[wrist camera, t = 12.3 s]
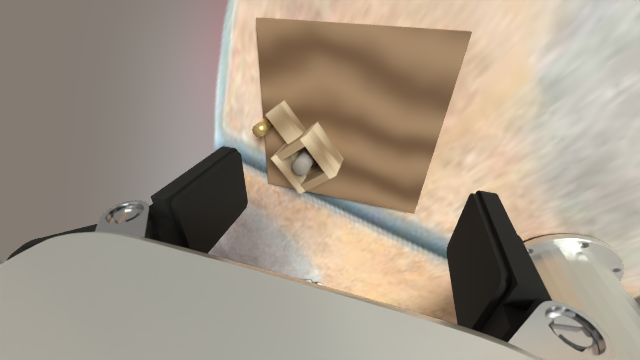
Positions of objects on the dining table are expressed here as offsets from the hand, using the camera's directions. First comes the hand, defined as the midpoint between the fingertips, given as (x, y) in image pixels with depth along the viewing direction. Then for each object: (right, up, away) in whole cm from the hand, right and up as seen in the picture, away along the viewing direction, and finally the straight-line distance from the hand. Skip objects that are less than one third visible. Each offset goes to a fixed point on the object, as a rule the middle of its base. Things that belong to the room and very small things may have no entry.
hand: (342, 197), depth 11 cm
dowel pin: (-8, +9, +24) cm, 27 cm away
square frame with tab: (-3, +6, +24) cm, 25 cm away
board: (+2, +8, +23) cm, 24 cm away
